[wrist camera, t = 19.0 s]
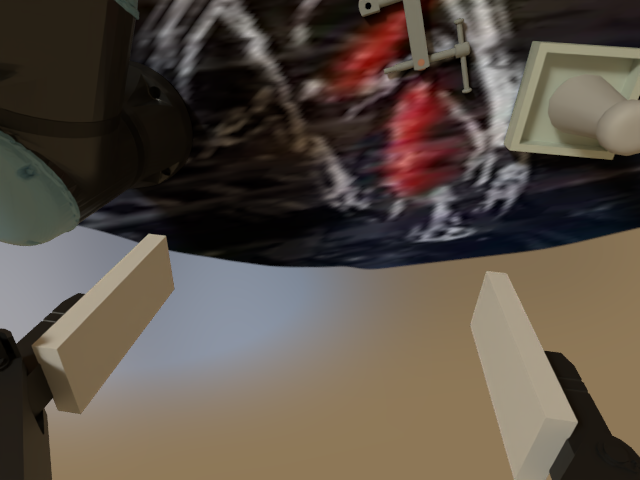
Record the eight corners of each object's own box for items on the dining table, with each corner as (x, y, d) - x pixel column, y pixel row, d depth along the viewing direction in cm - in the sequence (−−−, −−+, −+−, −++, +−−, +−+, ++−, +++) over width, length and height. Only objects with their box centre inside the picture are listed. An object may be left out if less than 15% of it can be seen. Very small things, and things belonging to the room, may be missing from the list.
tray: (503, 144, 46) (509, 150, 44) (532, 40, 41) (540, 42, 39) (601, 152, 45) (612, 159, 43) (643, 48, 40) (658, 50, 38)
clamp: (348, -41, 39) (457, -80, 36) (350, -38, 40) (454, -75, 38) (381, 116, 45) (475, 92, 43) (381, 112, 47) (471, 89, 45)
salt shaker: (528, 107, 44) (578, 140, 32) (572, 59, 41) (644, 76, 30) (568, 138, 45) (630, 180, 33) (614, 93, 42) (699, 122, 31)
